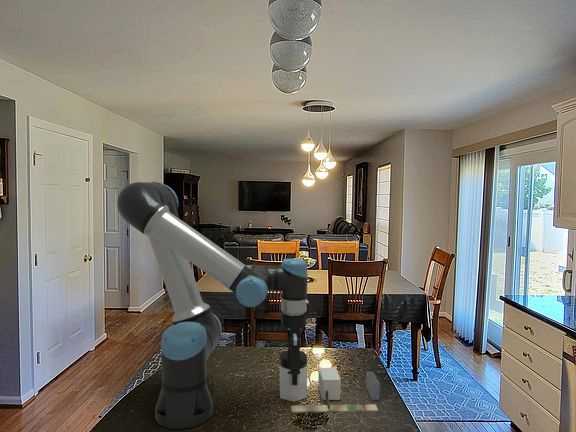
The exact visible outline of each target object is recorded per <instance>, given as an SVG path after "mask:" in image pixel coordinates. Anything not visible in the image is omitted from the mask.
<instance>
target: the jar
mask: <svg viewBox="0 0 576 432" xmlns="http://www.w3.org/2000/svg"><path fill="white" fill-rule="evenodd" d="M287 350H288V349H287ZM287 350H284V351H283V352H281V353H280V354H279V382H278V383H279V399H280V400H286V401H289V402H293V403H295V402H298V401H301V400H303V399H307V398H308V393H307V392H308V355H307V353H306V352H304V351H302V350H300V374H299V395H289V379H290V374H288V372H290V350H288V351H287Z"/></svg>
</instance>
